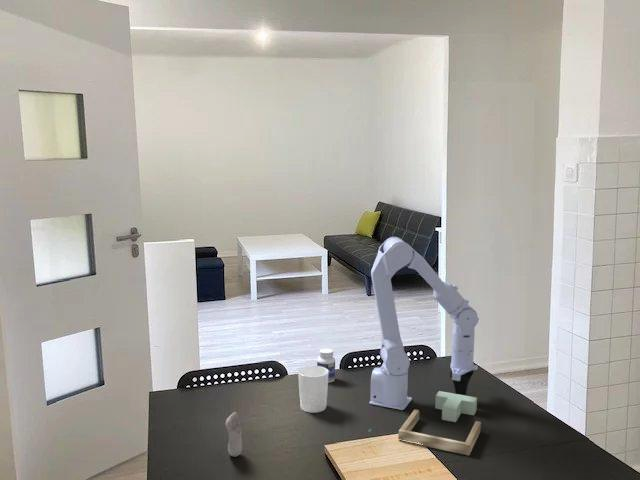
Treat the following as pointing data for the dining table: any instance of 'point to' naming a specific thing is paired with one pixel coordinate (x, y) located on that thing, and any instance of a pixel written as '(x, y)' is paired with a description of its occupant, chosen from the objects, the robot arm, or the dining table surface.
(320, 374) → the white cup
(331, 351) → the pill bottle
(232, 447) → the fossil
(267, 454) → the dining table surface
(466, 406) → the tee
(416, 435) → the dock
